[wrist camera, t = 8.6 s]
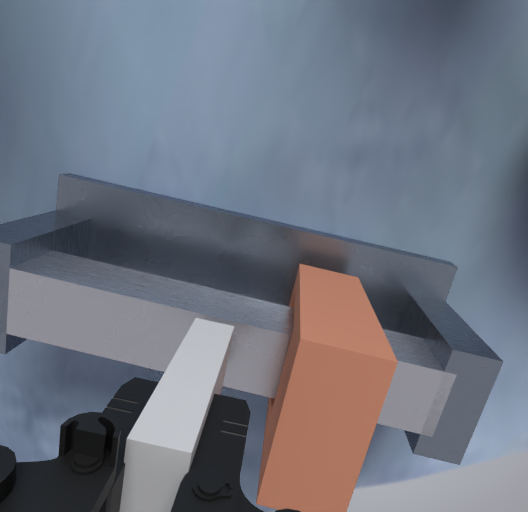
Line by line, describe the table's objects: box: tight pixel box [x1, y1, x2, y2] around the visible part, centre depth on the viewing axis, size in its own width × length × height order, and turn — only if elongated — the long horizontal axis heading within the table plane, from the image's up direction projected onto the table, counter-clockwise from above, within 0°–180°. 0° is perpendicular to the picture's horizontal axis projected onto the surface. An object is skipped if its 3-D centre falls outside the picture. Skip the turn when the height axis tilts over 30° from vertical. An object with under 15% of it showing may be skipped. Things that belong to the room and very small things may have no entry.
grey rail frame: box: [0, 174, 503, 465], centre depth 20 cm, size 22×9×8 cm, turn 78°
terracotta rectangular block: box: [256, 264, 398, 512], centre depth 17 cm, size 3×6×8 cm, turn 168°
